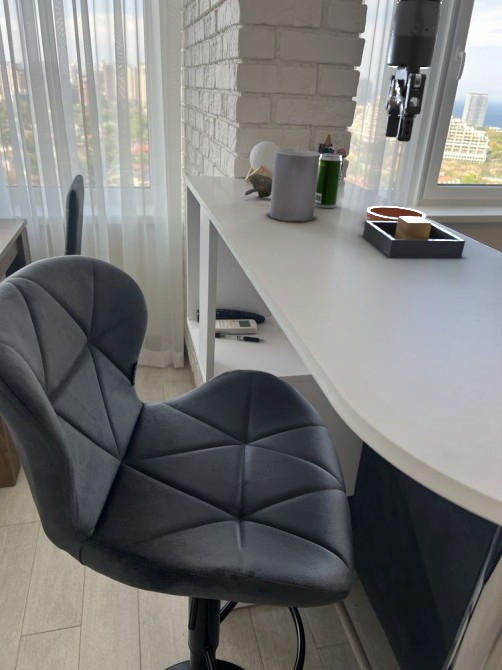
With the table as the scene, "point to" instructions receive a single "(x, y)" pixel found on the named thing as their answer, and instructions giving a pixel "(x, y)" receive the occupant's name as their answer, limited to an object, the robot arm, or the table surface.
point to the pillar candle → (294, 184)
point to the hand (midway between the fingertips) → (396, 139)
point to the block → (412, 228)
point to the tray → (413, 242)
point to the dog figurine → (260, 185)
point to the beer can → (328, 180)
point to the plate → (390, 213)
